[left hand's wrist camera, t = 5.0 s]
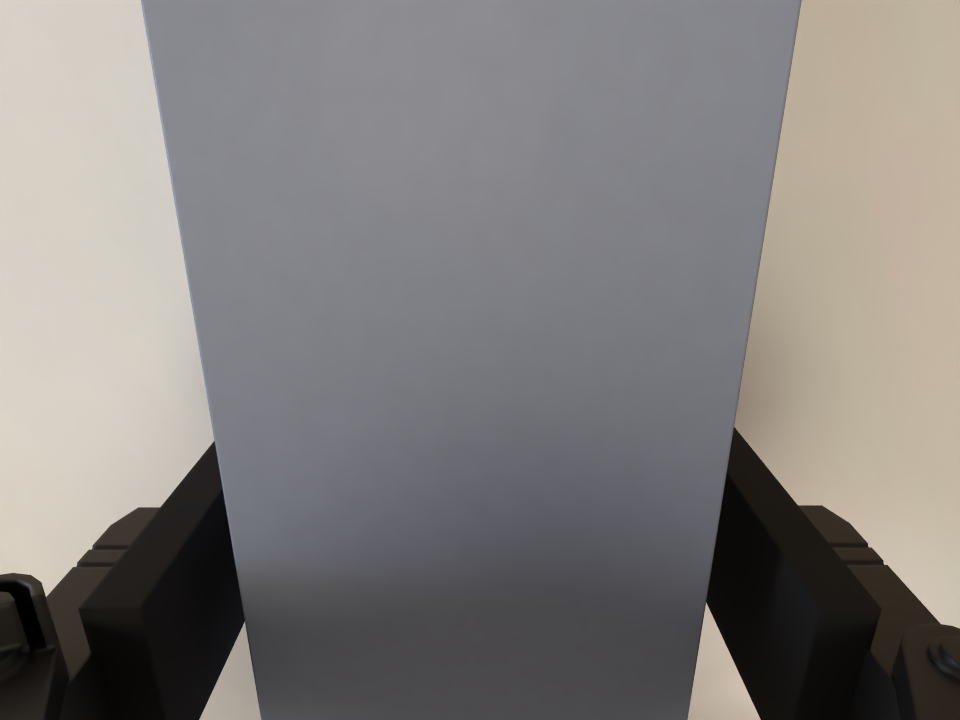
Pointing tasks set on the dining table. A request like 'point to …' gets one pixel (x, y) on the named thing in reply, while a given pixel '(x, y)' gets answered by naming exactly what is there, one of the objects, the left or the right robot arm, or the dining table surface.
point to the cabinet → (472, 334)
